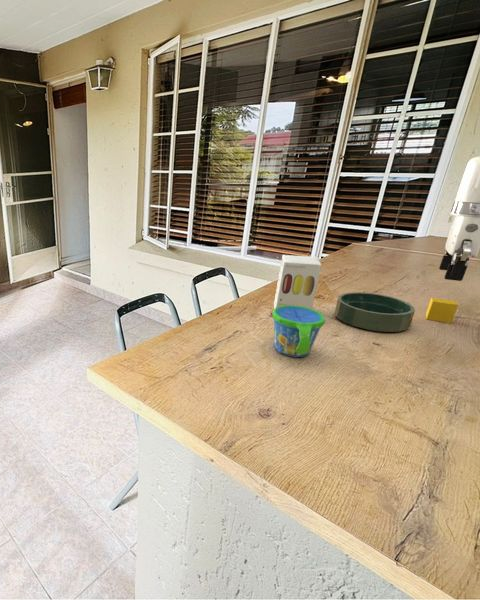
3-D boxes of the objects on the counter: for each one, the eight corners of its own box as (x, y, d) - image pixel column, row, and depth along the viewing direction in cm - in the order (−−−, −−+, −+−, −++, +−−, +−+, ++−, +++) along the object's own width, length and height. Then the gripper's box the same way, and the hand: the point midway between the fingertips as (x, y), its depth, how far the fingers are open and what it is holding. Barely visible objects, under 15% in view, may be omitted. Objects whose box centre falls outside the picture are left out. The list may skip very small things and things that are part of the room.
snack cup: (322, 371, 78) (332, 330, 74) (269, 363, 82) (276, 324, 78) (310, 339, 91) (318, 303, 87) (265, 334, 95) (270, 299, 91)
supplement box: (273, 315, 106) (282, 261, 100) (272, 304, 113) (280, 254, 107) (311, 319, 102) (322, 264, 96) (307, 307, 109) (317, 255, 103)
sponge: (449, 319, 97) (456, 300, 95) (451, 323, 95) (458, 304, 93) (425, 315, 100) (431, 297, 98) (426, 319, 98) (432, 301, 96)
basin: (406, 316, 100) (412, 298, 98) (410, 339, 88) (417, 319, 86) (336, 305, 110) (340, 288, 108) (331, 324, 98) (335, 306, 96)
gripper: (505, 214, 78) (477, 286, 84) (487, 205, 91) (463, 268, 97) (458, 213, 82) (434, 281, 89) (446, 204, 95) (426, 265, 101)
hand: (449, 274), depth 93 cm, fingers open, 9 cm apart
